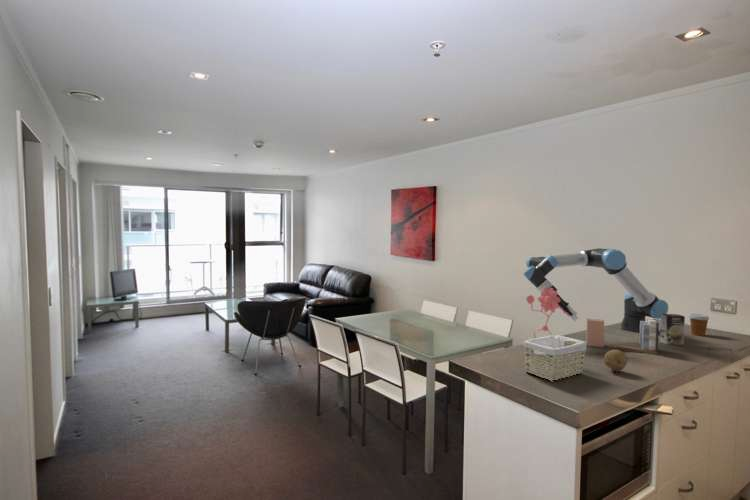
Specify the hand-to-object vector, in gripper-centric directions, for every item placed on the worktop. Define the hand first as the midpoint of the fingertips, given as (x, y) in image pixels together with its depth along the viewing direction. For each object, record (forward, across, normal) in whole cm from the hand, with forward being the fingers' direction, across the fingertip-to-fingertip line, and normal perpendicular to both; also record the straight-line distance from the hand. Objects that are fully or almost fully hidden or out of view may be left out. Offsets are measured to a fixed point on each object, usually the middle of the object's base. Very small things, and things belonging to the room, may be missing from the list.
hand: (576, 317), depth 228 cm
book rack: (+31, 0, +10) cm, 32 cm away
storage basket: (+3, +58, -19) cm, 61 cm away
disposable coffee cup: (+60, -50, +39) cm, 87 cm away
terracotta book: (+17, 0, -4) cm, 18 cm away
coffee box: (+46, -21, +24) cm, 56 cm away
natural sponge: (+20, +45, -1) cm, 49 cm away
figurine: (+1, +33, -20) cm, 38 cm away
